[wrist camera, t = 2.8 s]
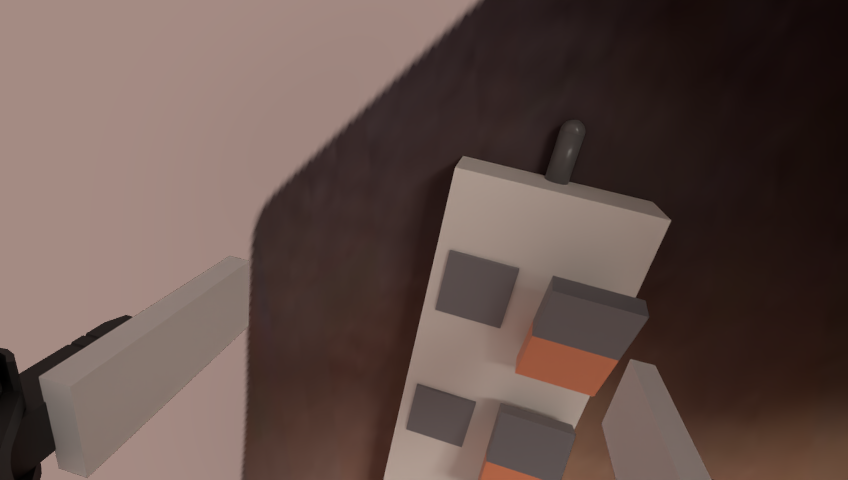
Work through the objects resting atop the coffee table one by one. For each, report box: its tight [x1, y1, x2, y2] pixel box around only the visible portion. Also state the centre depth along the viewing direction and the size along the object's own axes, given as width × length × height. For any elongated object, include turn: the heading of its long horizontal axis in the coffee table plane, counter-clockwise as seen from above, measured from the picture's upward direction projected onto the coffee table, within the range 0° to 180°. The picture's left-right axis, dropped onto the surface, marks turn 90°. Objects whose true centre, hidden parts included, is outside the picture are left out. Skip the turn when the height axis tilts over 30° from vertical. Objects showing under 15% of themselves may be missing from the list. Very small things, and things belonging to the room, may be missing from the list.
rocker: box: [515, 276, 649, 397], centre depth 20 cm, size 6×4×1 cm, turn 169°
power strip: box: [383, 119, 671, 480], centre depth 26 cm, size 33×10×4 cm, turn 169°
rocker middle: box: [478, 403, 576, 480], centre depth 23 cm, size 6×4×1 cm, turn 169°
